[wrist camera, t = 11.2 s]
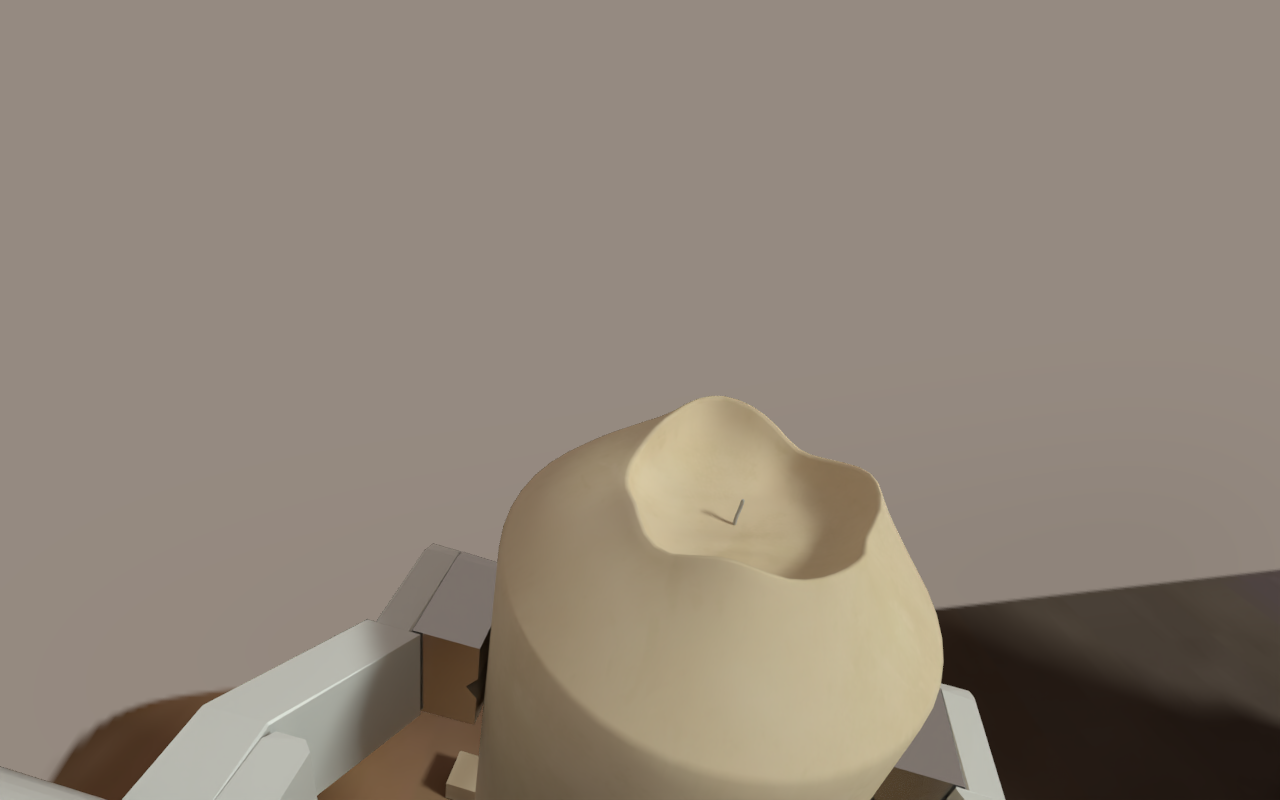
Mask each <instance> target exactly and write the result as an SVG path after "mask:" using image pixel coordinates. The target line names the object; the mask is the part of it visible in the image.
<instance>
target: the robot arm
mask: <svg viewBox="0 0 1280 800" xmlns="http://www.w3.org/2000/svg"><path fill="white" fill-rule="evenodd" d="M496 571H497V562H495V561H492V560H488V559H485V558H482V557H478V556H475V555H472V554H468V553H465V552H461V551H457V550H454V549H450V548H447V547H444V546H440V545H437V544H432V545H430V546H429V547H428V548H427V549H425V550H424V552H423V553H422V555H421V556H420V558H419V559H418V561H417V562H416V564H415V565H414V567H413V568H412V569H411V571H410V572H409V574H408V575H407V577H406V578H405V580H404V581H403V583H402V584H401V586H400V587H399V589H398V590H397V592H396V593H395V595H394V596H393V597H392V599H391V600H390V602H389V603H388V605H387V606H386V608H385V609H384V611H383V612H382V614H381V615H380V617H379V618H378V619H377V621H372V620H368V619H366V620H364V621H363V622H361V623H359V624H357V625H355V626H353V627H351V628H349V629H347V630H345V631H343V632H342V633H340V634H338V635H336V636H334V637H332V638H330V639H328V640H326V641H324V642H323V643H321V644H319V645H317V646H315V647H313V648H311V649H309V650H307V651H305V652H303V653H302V654H300V655H298V656H296V657H294V658H292V659H290V660H288V661H286V662H284V663H282V664H280V665H279V666H277V667H275V668H273V669H271V670H269V671H267V672H265V673H263V674H261V675H259V676H258V677H256V678H254V679H252V680H250V681H248V682H246V683H244V684H242V685H240V686H238V687H237V688H235V689H233V690H231V691H229V692H227V693H225V694H223V695H221V696H219V697H217V698H215V699H214V700H212V701H210V702H208V703H206V704H204V705H202V707H201V708H200V709H199V710H198V711H197V712H196V714H195V715H194V716H193V717H192V718H191V719H190V721H189V722H188V723H187V724H186V725H185V726H184V728H183V729H182V730H181V731H180V732H179V733H178V735H177V736H176V737H175V738H174V739H173V740H172V742H171V743H170V744H169V745H168V746H167V747H166V749H165V750H164V751H163V752H162V753H161V754H160V756H159V757H158V758H157V759H156V760H155V762H154V763H153V764H152V765H151V766H150V767H149V769H148V770H147V771H146V772H145V773H144V774H143V776H142V777H141V778H140V779H139V780H138V781H137V783H136V784H135V785H134V786H133V787H132V788H131V790H130V791H129V792H128V793H127V794H126V795H125V797H124V798H123V799H122V800H318V799H317V795H318V794H320V793H321V792H322V791H323V790H325V789H326V788H327V787H329V786H330V785H331V784H332V783H334V782H335V781H336V780H337V779H339V778H340V777H341V776H343V775H344V774H345V773H346V772H348V771H349V770H350V769H352V768H353V767H354V766H355V765H357V764H358V763H359V762H360V761H362V760H363V759H364V758H366V757H367V756H368V755H369V754H371V753H372V752H373V751H375V750H376V749H377V748H378V747H380V746H381V745H382V744H384V743H385V742H386V741H387V740H389V739H390V738H391V737H392V736H394V735H395V734H396V733H398V732H399V731H400V730H401V729H403V728H404V727H405V726H407V725H408V724H409V723H410V722H412V721H413V720H414V719H415V718H417V717H418V716H419V715H420V711H423V712H426V713H430V714H434V715H438V716H442V717H446V718H449V719H453V720H457V721H461V722H465V723H469V724H472V725H474V724H475V722H476V720H477V717H478V715H479V713H480V711H481V708H482V706H483V704H484V696H485V686H486V675H487V665H488V655H489V644H490V634H491V623H492V613H493V602H494V592H495V582H496ZM0 800H106V799H103V798H100V797H97V796H94V795H90V794H87V793H84V792H81V791H78V790H74V789H71V788H68V787H65V786H62V785H58V784H55V783H52V782H49V781H46V780H42V779H39V778H36V777H33V776H29V775H26V774H23V773H20V772H17V771H13V770H10V769H7V768H4V767H1V766H0ZM870 800H1005V797H1004V793H1003V790H1002V787H1001V784H1000V780H999V777H998V774H997V770H996V767H995V764H994V761H993V757H992V754H991V751H990V747H989V744H988V741H987V738H986V734H985V731H984V728H983V724H982V721H981V718H980V715H979V711H978V708H977V705H976V701H975V698H974V697H973V696H972V694H971V693H970V692H969V691H967V690H964V689H960V688H956V687H953V686H949V685H945V684H941V686H940V689H939V692H938V695H937V698H936V701H935V704H934V707H933V709H932V711H931V712H930V714H929V716H928V718H927V719H926V721H925V723H924V724H923V726H922V728H921V729H920V731H919V732H918V734H917V735H916V737H915V738H914V739H913V741H912V742H911V744H910V745H909V747H908V748H907V749H906V751H905V752H904V754H903V755H902V756H901V758H900V759H899V760H898V762H897V763H896V765H895V766H894V767H893V769H892V770H891V772H890V773H889V774H888V776H887V777H886V779H885V780H884V781H883V783H882V784H881V786H880V787H879V788H878V790H877V791H876V792H875V794H874V795H873V797H872V798H871V799H870Z"/></svg>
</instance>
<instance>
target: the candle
mask: <svg viewBox="0 0 1280 800" xmlns="http://www.w3.org/2000/svg"><path fill="white" fill-rule="evenodd" d="M943 662H944V660H943V644H942V635H941V631H940V626H939V622H938V617H937V614H936V611H935V609H934V606H933V603H932V601H931V598H930V596H929V593H928V591H927V589H926V587H925V585H924V583H923V581H922V579H921V577H920V575H919V573H918V571H917V569H916V567H915V565H914V564H913V562H912V560H911V558H910V556H909V554H908V552H907V550H906V548H905V546H904V544H903V542H902V540H901V538H900V536H899V534H898V532H897V530H896V527H895V525H894V523H893V521H892V519H891V516H890V514H889V512H888V509H887V507H886V504H885V501H884V498H883V495H882V492H881V489H880V486H879V484H878V482H877V481H876V480H875V479H874V477H873V476H872V475H871V474H870V473H868V472H867V471H865V470H863V469H862V468H860V467H857V466H854V465H850V464H846V463H843V462H839V461H834V460H830V459H825V458H822V457H818V456H814V455H810V454H808V453H806V452H804V451H802V450H800V449H799V448H797V446H796V445H794V444H793V443H792V442H791V441H790V440H789V439H788V438H787V437H786V436H785V435H784V434H783V433H782V431H781V430H780V429H779V428H778V427H777V426H776V425H775V424H774V423H773V422H772V421H771V420H770V419H769V418H768V417H766V416H765V415H764V414H763V413H761V412H760V411H758V410H757V409H756V408H754V407H753V406H751V405H748V404H746V403H744V402H742V401H740V400H737V399H734V398H730V397H726V396H708V397H704V398H699V399H696V400H694V401H692V402H689V403H687V404H685V405H683V406H682V407H680V408H678V409H676V410H674V411H672V412H670V413H668V414H665V415H663V416H660V417H657V418H654V419H651V420H648V421H645V422H642V423H639V424H636V425H633V426H630V427H627V428H624V429H621V430H618V431H615V432H612V433H609V434H607V435H604V436H602V437H599V438H597V439H595V440H593V441H590V442H588V443H586V444H584V445H582V446H580V447H577V448H575V449H573V450H571V451H569V452H567V453H565V454H564V455H562V456H561V457H559V458H557V459H556V460H554V461H552V462H551V463H549V464H548V465H547V466H546V467H544V468H543V469H542V470H541V471H540V472H538V473H537V474H536V475H535V476H534V477H533V478H532V479H531V480H530V481H529V483H528V484H527V485H526V486H525V487H524V488H523V489H522V490H521V492H520V494H519V495H518V497H517V498H516V500H515V502H514V503H513V505H512V507H511V509H510V511H509V513H508V516H507V519H506V521H505V524H504V526H503V531H502V535H501V540H500V545H499V552H498V562H497V571H496V582H495V592H494V602H493V613H492V623H491V634H490V644H489V655H488V665H487V675H486V686H485V696H484V707H483V717H482V728H481V738H480V749H479V759H478V769H477V780H476V790H475V800H870V799H871V798H872V797H873V795H874V794H875V792H876V791H877V790H878V788H879V787H880V786H881V784H882V783H883V781H884V780H885V779H886V777H887V776H888V774H889V773H890V772H891V770H892V769H893V767H894V766H895V765H896V763H897V762H898V760H899V759H900V758H901V756H902V755H903V754H904V752H905V751H906V749H907V748H908V747H909V745H910V744H911V742H912V741H913V739H914V738H915V737H916V735H917V734H918V732H919V731H920V729H921V728H922V726H923V724H924V723H925V721H926V719H927V718H928V716H929V714H930V712H931V711H932V709H933V707H934V704H935V701H936V698H937V695H938V692H939V689H940V686H941V679H942V671H943Z"/></svg>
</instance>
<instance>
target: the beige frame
mask: <svg viewBox="0 0 1280 800" xmlns="http://www.w3.org/2000/svg"><path fill="white" fill-rule="evenodd" d="M478 759H479V756H476V755H473V754H470V753H466V752H463V751H460V753H459V755H458V757H457V759H456V762H455V764H454V766H453V769H452V771H451V773H450V775H449V778H448V780H447V782H446V798H449V799H452V800H475V790H476V780H477V769H478Z"/></svg>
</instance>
